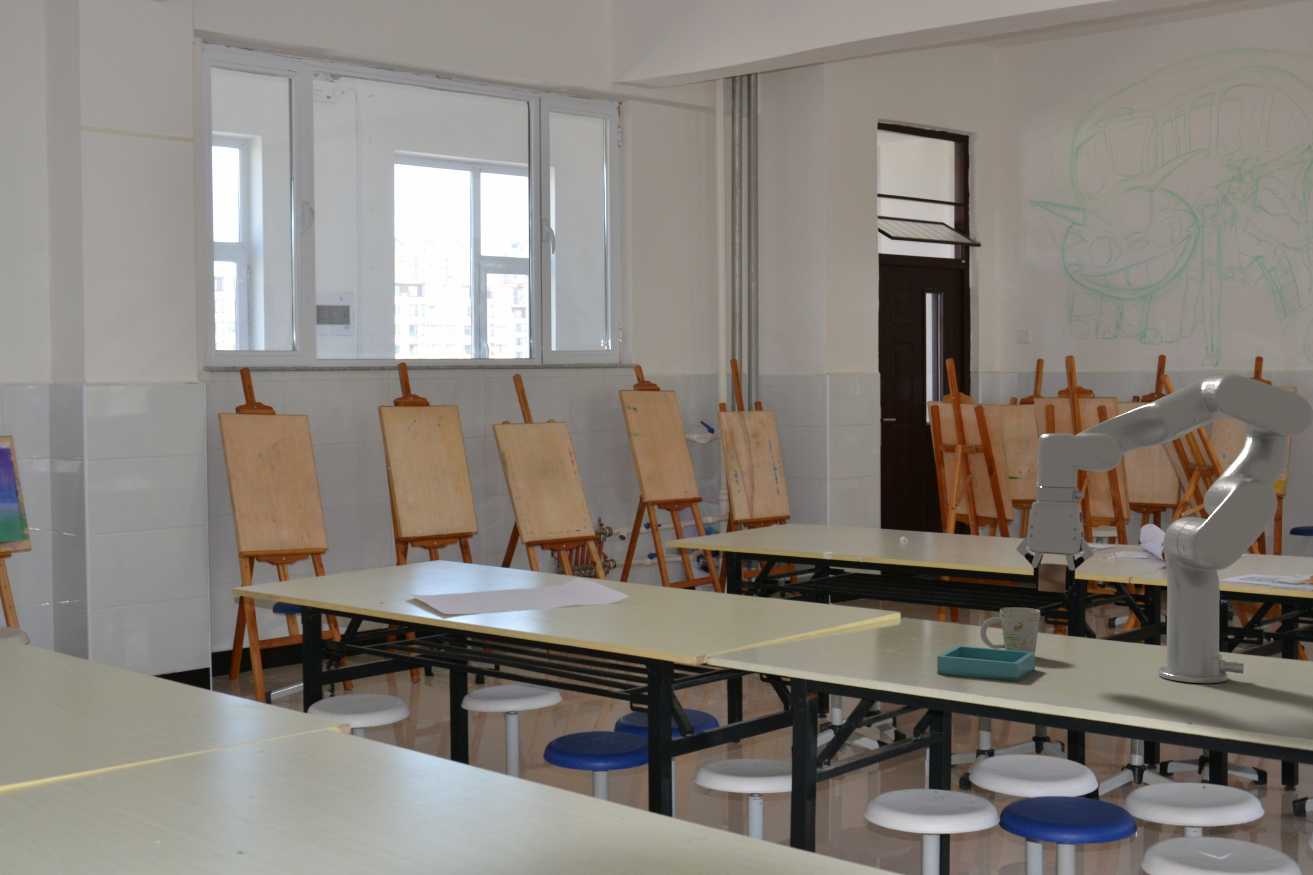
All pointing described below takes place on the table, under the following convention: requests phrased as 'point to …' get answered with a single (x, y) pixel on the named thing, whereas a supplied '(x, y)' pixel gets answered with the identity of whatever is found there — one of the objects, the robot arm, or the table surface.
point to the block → (1052, 577)
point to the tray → (986, 663)
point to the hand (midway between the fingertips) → (1053, 587)
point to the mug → (1015, 629)
